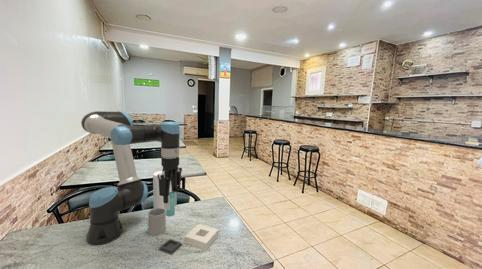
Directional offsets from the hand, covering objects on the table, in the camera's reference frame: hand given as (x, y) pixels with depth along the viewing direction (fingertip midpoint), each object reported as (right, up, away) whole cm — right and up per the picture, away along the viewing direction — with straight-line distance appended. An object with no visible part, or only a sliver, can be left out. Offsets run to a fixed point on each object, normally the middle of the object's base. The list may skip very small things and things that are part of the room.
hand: (170, 207), depth 92 cm
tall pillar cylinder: (-17, -16, +36) cm, 43 cm away
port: (+13, -20, +9) cm, 25 cm away
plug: (0, -4, 0) cm, 3 cm away
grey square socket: (-1, -20, +2) cm, 20 cm away
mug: (-12, -18, +16) cm, 27 cm away
